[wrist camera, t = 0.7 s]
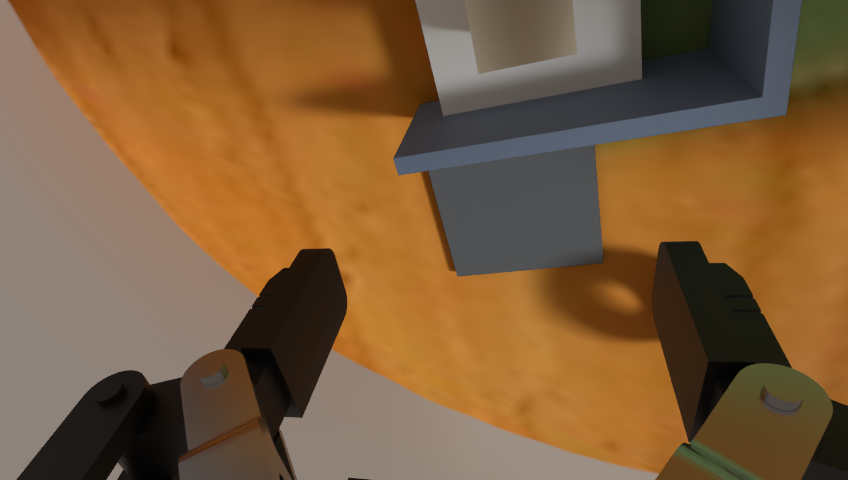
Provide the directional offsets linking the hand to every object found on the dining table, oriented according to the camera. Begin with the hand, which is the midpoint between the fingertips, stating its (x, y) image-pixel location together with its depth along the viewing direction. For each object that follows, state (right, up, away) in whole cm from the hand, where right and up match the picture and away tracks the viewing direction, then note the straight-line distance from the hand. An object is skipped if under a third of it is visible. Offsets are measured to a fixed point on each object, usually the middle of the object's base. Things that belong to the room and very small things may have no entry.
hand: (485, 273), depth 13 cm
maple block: (+3, +14, +13) cm, 19 cm away
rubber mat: (+5, +3, +23) cm, 24 cm away
